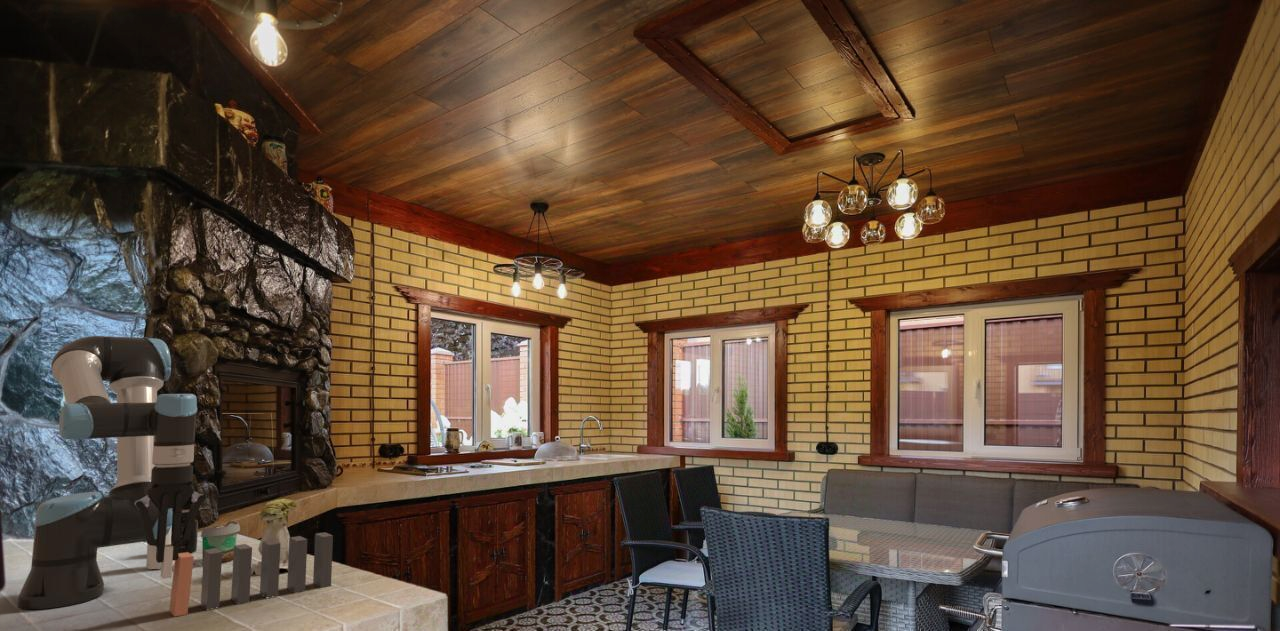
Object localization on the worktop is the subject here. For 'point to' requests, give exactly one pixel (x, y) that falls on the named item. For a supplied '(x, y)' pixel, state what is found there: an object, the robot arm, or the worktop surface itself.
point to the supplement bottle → (192, 542)
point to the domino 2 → (211, 578)
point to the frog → (276, 529)
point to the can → (151, 554)
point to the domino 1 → (181, 584)
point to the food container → (221, 539)
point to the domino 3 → (241, 573)
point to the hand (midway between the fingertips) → (165, 576)
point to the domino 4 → (270, 568)
